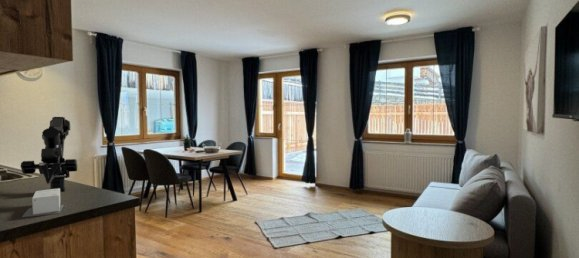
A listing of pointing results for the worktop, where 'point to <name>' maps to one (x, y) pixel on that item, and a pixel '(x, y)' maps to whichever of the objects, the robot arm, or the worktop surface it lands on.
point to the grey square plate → (30, 213)
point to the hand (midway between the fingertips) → (47, 183)
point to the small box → (46, 201)
